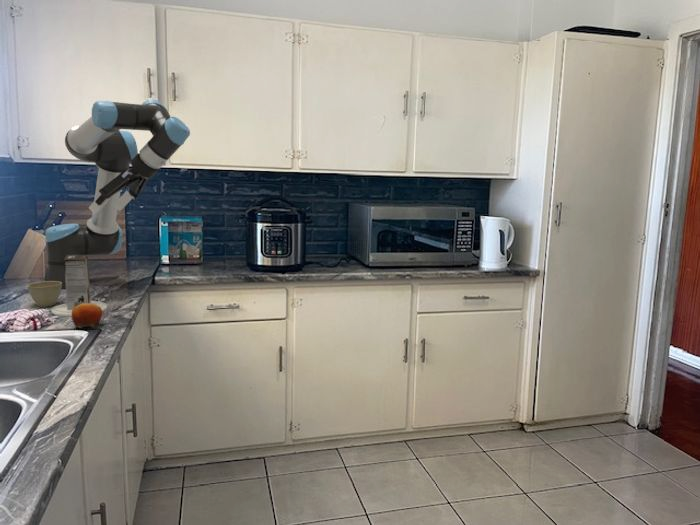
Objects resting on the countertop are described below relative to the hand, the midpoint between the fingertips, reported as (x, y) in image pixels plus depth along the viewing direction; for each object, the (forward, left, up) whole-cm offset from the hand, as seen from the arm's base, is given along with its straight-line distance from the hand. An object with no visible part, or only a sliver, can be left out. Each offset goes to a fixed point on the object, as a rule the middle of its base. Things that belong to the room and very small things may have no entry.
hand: (105, 209), depth 169 cm
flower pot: (-4, -25, -33) cm, 42 cm away
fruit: (+16, +2, -33) cm, 37 cm away
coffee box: (0, -11, -31) cm, 33 cm away
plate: (0, -11, -33) cm, 34 cm away
